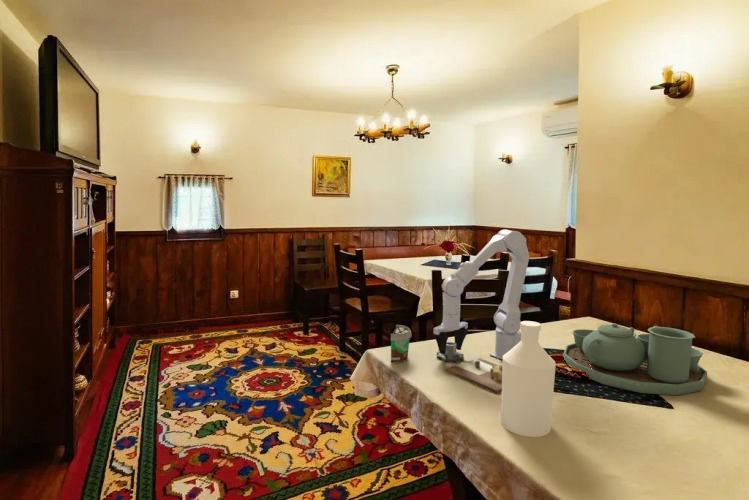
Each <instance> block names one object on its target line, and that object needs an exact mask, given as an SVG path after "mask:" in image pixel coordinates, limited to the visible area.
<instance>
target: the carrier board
mask: <svg viewBox="0 0 749 500" xmlns="http://www.w3.org/2000/svg"><path fill="white" fill-rule="evenodd" d="M502 366H503V364H496V363H494V362H491V361H489V360H485V359H483V358H482V357H481V358H476V359H473V360H469V361H465V362H462V363H459V364H456V365H451V366H449V367H445V372H447V373H449V374H452V375H453V376H455V377H458V378H461V379H462V380H465V381H467V382H470V383H472V384H474V385H476V386H477V387H480V388H482V389H485V390H487V391H490V392H491V393H493V394H496V395H497V394H498V395H499V394H502Z"/></svg>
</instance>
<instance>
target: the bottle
mask: <svg viewBox="0 0 749 500" xmlns="http://www.w3.org/2000/svg"><path fill="white" fill-rule="evenodd" d="M541 326H542V325H541V323H540V322H537V321H531V320H523V321H521V322H520V330H521V331H520V332H521V341H520V342H519V343H518V344H517V345H516V346H514V347H513V348H512V349H511V350H510V351H508V352H507V353H506V354H504V355H503V360H502V365H503V366H502V392H501V411H500V413H501V415H500V424H501V425H502V426H503V428H505V430H507V431H509V432H511V433H513V434H514V435H515V434H516V435H518V436H522V437H527V438H528V437H529V438H540V437H545V436H547V435H548V434H549V433H550V432H551V429H552V428H551V427H552V414H553V402H554V388H555V378H556V377H555V376H556V375H555V374H556V366H557V365H556V361H555V360H554V359H553V358H552V357H551V356H550V355H549V354H548V353H547V351H546V350H545V349H544V348H543V347H542V345H541V344H540V343H539V336H540V331H541V330H542V327H541Z"/></svg>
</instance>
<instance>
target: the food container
mask: <svg viewBox="0 0 749 500" xmlns="http://www.w3.org/2000/svg"><path fill="white" fill-rule="evenodd" d="M411 338H412V331H411V329H410V328H409V327H408V326H406V325H402V324H396V325H395V328H394V330H393V333H390V362H391V363H401V362H405V361H407V360H408V358H409V349H410V348H409V347H410V339H411Z"/></svg>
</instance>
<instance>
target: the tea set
mask: <svg viewBox="0 0 749 500" xmlns="http://www.w3.org/2000/svg"><path fill="white" fill-rule="evenodd" d="M647 331H648V332H649V333H640V334H636V333H635V328H634V327H632V326H630V328H627V327H626V326H623V325H618V324H617V323H616V322H615V323H611V324H607V323H606V324H601V325H600V326H597V329H596V330H593V329H585V328H582V329H581V328H579V329H573V331H572V334H573V339H574V343H569V344H567V345H566V346H565V348H564V351H563V355H562V358H563V357H564V360H565V361H566V363H567V364H569V365H570V366H572V367H573V368H575V369H578V370H581V371H584V372H586V373H587V374H588V375H589V378H588V379H589V380H592V381H595V382H596V383H600V384H602V385H605V386H610V387H614V388H618V389H623V390H627V391H632V392H636V393H639V394H653V395H654V394H655V395H668V396H680V395H685V394H691V393H696V392H701V391H702V389H703V387H705V384H706V381H707V379H708V371H706V369H704V368H703V367H702V366H700V365H699V362H700V360H701V358H702V357H703V355H704V353H703V352H702V351H700V350H698V349H696V348H693V340H694V338H696V336H695V335H694V333H691V332H690V331H686V330H682V329H679V328H678V329H677V328H672V327H666V326H655V325H653V326H652V327H649V328H648V329H647ZM574 358H576V359H578V360H575V359H574ZM564 360H563V361H564ZM582 361H583V362H582ZM566 363H565V364H566ZM567 364H566V365H567ZM589 364H590V365H591V368H592V369H590V365H589Z"/></svg>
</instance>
